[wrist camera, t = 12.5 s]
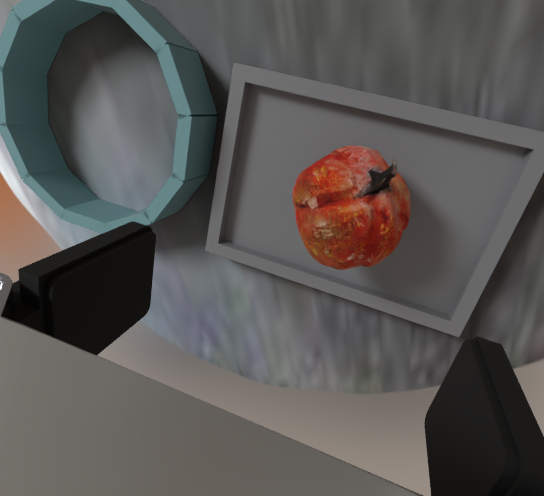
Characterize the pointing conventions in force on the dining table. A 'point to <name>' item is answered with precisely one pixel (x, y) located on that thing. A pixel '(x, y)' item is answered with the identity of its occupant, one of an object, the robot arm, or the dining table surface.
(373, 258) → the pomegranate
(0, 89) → the teal polygonal ring
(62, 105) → the dining table surface
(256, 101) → the tray
